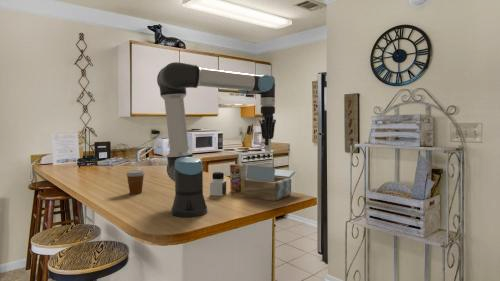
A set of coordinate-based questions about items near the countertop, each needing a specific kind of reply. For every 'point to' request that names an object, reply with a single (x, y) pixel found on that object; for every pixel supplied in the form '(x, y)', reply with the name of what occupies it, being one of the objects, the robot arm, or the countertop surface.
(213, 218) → the countertop surface
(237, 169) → the candy box
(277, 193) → the carton
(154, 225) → the countertop surface
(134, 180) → the disposable coffee cup
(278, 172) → the far flap
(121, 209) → the countertop surface
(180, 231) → the countertop surface
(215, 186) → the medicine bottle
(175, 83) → the robot arm
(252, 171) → the near flap
